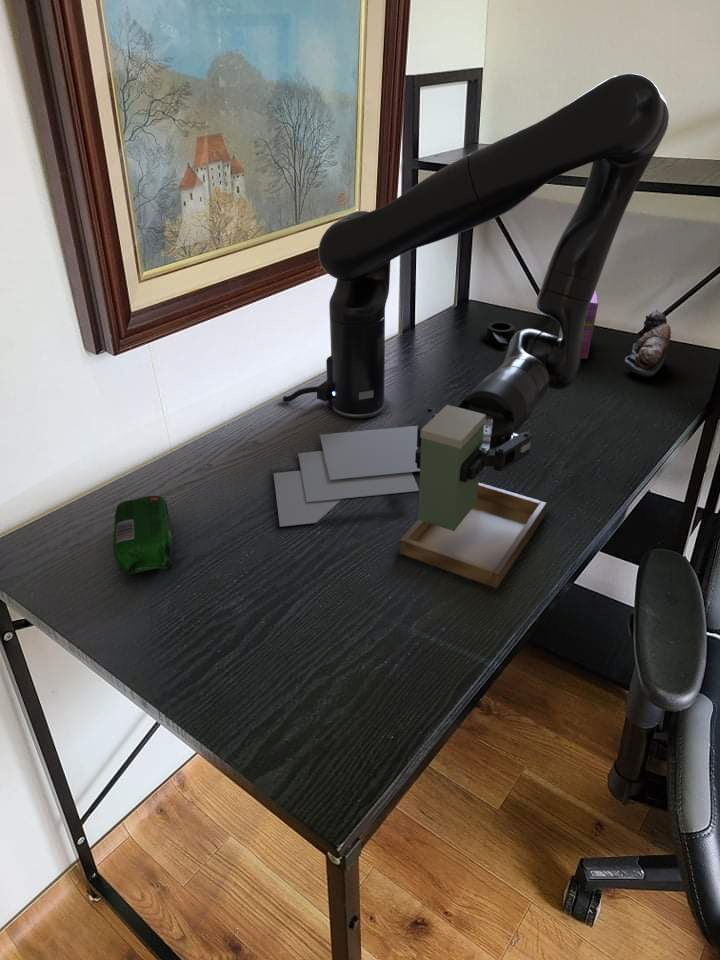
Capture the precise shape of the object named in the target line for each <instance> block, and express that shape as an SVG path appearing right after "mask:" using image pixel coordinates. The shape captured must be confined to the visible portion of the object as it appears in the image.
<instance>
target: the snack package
mask: <svg viewBox="0 0 720 960" xmlns="http://www.w3.org/2000/svg"><path fill="white" fill-rule="evenodd" d="M172 539H173V538H172V532H171V525H170V513H169V508H168V503H167V501H166V499H165V498H164V497H162V496H160V495H147V496H143V497H138V498H135V499H129V500H125V501H122V502H120V503H119V504H118V505H117V506H116V508H115V512H114V525H113V546H112V547H113V553H114V558H115V561H116V565H117V567H118V569H119V571H120V572H121V573H122V574H124V575H127V576H130V575H134V574H138V573H142V572H147V571H153V570H157V569H158V570H159V569H163V570H164V572H165V571H170V570H171V569H172V567H173V563H174V562H173V558H172V557H173V540H172Z"/></svg>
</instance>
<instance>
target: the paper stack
mask: <svg viewBox="0 0 720 960" xmlns="http://www.w3.org/2000/svg"><path fill="white" fill-rule="evenodd" d="M418 426H419V425H411V426H399V427H390V428H389V427H388V428H378V429H367V430H356V431H355V430H354V431H346V432H345V431H344V432H334V433H321V434H319V438H320V443H321V447H322V450H317V451H306V452H298V454H297V455H298V460H299V466H300V467H299V468H300V470H291V471H281V472H273V480H274V489H275V497H276V506H277V512H278V513H277V515H278V522H279V523H278V524H279V527H281V528H282V527H290V526H291V527H292V526H300V525H309V524H317V523H319V521H320V520H321V519H322V518H323V517H324V516H325V515H327V514H328V513H329V512H330V511H331V510H332V509H333V508H334V507H335V506H336V505H337V504H339V502H340V501H342V500H343V499H354V498H361V497H362V498H364V497H372V496H373V497H374V496H381V495H382V496H383V495H393V494H401V493H411V492H412V493H413V492H419V486H418V483H417V481H416V479H415V476H414V474H413V473H414V472H415V473H416V472H420V469H419V468H417V463H415V455H416V450H417V449H418V447H417V428H418Z"/></svg>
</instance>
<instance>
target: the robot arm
mask: <svg viewBox="0 0 720 960" xmlns="http://www.w3.org/2000/svg"><path fill="white" fill-rule="evenodd" d="M669 119H670V114H669V108H668V104H667V101H666V99H665V97H664V96H663V94H662V93H661V91H660V89H659V88H658V87H657V85H656V84H655V83H654V82H653V81H652V80H651V79H650V78H648V77H646V76H645V75H642V74H637V73H623V74H618V75H614V76H612V77H610V78H608V79H606V80H604V81H602V82H601V83H599V84H597V85H596V86H594V87H592V88H591V89H589V90H588V91H587V92H585V93H583V94H581V95H580V96H579V97H577V98H576V99H574V100H573V101H571V102H569V103H568V104H566V105H565V106H563V107H561V108H559V109H558V110H557V111H555V112H553V113H552V114H550V115H549V116H547V117H545V118H543V119H541V120H539V121H538V122H536V123H534V124H532V125H530V126H527V127H525V128H522V129H520V130H518V131H516V132H513V133H512V134H509V135H507V136H505V137H503V138H500V139H499V140H497V141H495V142H493V143H491V144H488V145H487V146H484V147H482V148H479V149H478V150H475V151H473V152H471V153H469V154H467V155H465V156H463V157H461V158H459V159H457V160H455V161H453V162H451V163H449V164H447V165H446V166H444V167H442V168H440V169H439V170H438V171H436V172H434V173H432V174H431V175H428V176H427V177H426V178H424V179H423V180H422V181H420V182H418V183H417V184H415V185H414V186H413V187H411V188H409V189H408V190H407V191H405V192H404V193H402V194H401V195H399V196H398V197H396V198H395V199H393V200H392V201H390V202H388V203H387V204H385V205H383V206H380V207H378V208H376V209H373V210H371V211H367V210H357V211H353V212H351V213H349V214H347V215H345V216H343V217H342V218H341V219H338V220H337V221H335V222H334V223H333V224H331V225H330V226H329V227H328V228H327V229H326V230H325V232H324V233H323V234H322V236H321V239H320V241H319V244H318V252H317V253H318V260H319V264H320V266H321V268H322V269H323V270H324V272H326V274H327V275H329V276H331V277H332V278H334V279H336V282H335V287H334V289H333V292H332V294H331V296H330V298H329V304H328V307H329V309H328V310H329V311H328V312H329V314H328V315H329V331H330V332H329V333H330V335H329V336H330V337H329V338H330V355H329V356H328V357H327V358H326V359H325V361H326V380H325V381H324V382H322V383H320V384H319V385H318V386H309V387H304V388H300V389H298V390H296V391H294V392H293V393H292V394H290V395H288V396H287V395H284V396H282V397H283V398H282V401H283V402H285V403H289V402H292V401H294V400H296V399H297V398H298V397H300V396H302V395H303V396H304V395H306V394H311V393H316V399H317V400H320V401H324V402H327V408H328V409H330V410H332V411H333V412H334V413H335V414H336V415H338V416H340V417H343V418H346V419H353V420H363V419H370V418H374V417H376V416H378V415H380V414H382V413H383V411H384V410H385V408H386V402H385V374H386V373H385V371H386V370H385V366H386V365H385V363H386V362H385V361H386V360H385V356H386V355H385V353H386V351H385V350H386V348H385V347H386V305H387V301H388V298H389V294H390V284H391V283H390V281H391V262H392V260H394V259H396V258H398V257H400V256H402V255H404V254H405V253H407V252H410V251H412V250H415V249H418V248H421V247H424V246H427V245H431V244H433V243H436V242H439V241H442V240H445V239H447V238H450V237H452V236H455V235H458V234H461V233H463V232H466V231H468V230H471V229H474V228H476V227H478V226H480V225H483V224H485V223H487V222H489V221H491V220H494V219H496V218H498V217H501V216H502V215H504V214H506V213H508V212H510V211H512V210H513V209H514V208H516V207H517V206H519V205H520V204H521V203H523V202H524V201H526V200H527V199H528V198H529V197H531V196H532V195H533V194H535V192H537V191H538V190H540V189H541V188H542V187H543V186H545V185H546V184H547V183H549V182H551V181H552V180H553V179H556V178H557V177H559V176H561V175H563V174H565V173H569V172H570V171H573V170H575V169H578V168H581V167H583V166H585V165H589V164H591V167H590V172H589V176H588V179H587V182H586V185H585V187H584V190H583V192H582V195H581V198H580V200H579V203H578V205H577V206H576V208H575V211H574V212H573V214H572V216H571V218H570V220H569V221H568V223H567V225H566V227H565V228H564V230H563V232H562V233H561V236H560V238H559V239H558V242H557V244H556V246H555V248H554V250H553V253H552V255H551V258H550V261H549V263H548V266H547V268H546V271H545V274H544V277H543V280H542V283H541V287H540V288H539V292H538V296H537V299H536V308H537V310H538V311H540V312H541V313H542V314H544V315H545V316H547V317H548V318H550V319H552V320H554V321H555V322H556V323H557V324H558V325H559V328H560V327H561V330H562V338H560V337H559V336H556V335H553V334H551V333H547V332H545V331H542V330H539V329H536V328H523V329H520V330H518V331H517V332H514V336H513V337H512V339H511V340H510V343H509V344H507V348H506V352H505V358H504V360H503V362H502V364H501V365H499V366H498V367H497V369H495V370H494V371H493V372H492V373H490V374H488V375H487V376H486V377H484V378H483V379H482V381H480V383H478V384H477V385H476V386H475V387H474V388H473V389H472V390H471V391H470V392H469V393H468V394H467V395H466V396H465V397H464V398H463V399H462V401H461V402H460V404H459V405H458V406H457V407H458V408H462V409H466V410H470V411H474V412H478V413H482V414H486V420H485V423H484V430H483V440H482V442H481V443H480V444H479V447H478V451H476V450H474V451H473V452H472V454H471V455H470V456H469V457H468V458H467V459H466V460H465V461H464V463H463V464H462V465H461V469H460V481H462V482H465V483H466V482H467V481H468V480H469V479H471V480H472V479H474V478H476V476H477V475H478V474H479V475H480V474H481V472H482V471H483V470H486V469H488V467H493V470H494V471H497V472H502V471H505V470H506V469H508V468H509V467H511V466H512V465H514V464H515V463H518V462H519V461H521V460H522V459H524V458H525V457H526V456H528V455H530V450H531V444H532V437H533V436H532V435H533V434H532V433H530V432H527V431H523V432H521V433H517V432H518V431H519V430H520V429H521V427H522V426H523V424H524V423H525V422H526V421H528V419H529V418H530V416H531V414H533V411H534V409H535V407H536V406H537V405H538V403H539V402H540V401H541V400H542V399H543V397H545V395H546V394H547V392H548V390H549V389H552V390H556V391H557V390H558V391H559V390H560V391H561V390H564V389H566V388H568V387H569V386H571V385H572V384H573V383H574V382H575V381H576V379H577V377H578V374H579V373H580V369H581V364H582V358H581V355H582V340H583V331H584V324H585V319H586V315H587V311H588V308H589V305H590V301H591V300H592V297H593V294H594V292H595V290H596V289H597V286H598V283H599V280H600V278H601V275H602V271H603V269H604V267H605V265H606V262H607V258H608V255H609V253H610V250H611V248H612V244H613V242H614V239H615V236H616V234H617V231H618V229H619V227H620V225H621V221H622V219H623V216H624V214H625V212H626V210H627V207H628V205H629V203H630V201H631V199H632V196H633V195H634V193H635V191H636V188H637V187H638V184H639V182H640V181H641V179H642V177H643V176H644V173H645V172H646V169H647V167H648V166H649V164H650V162H651V160H653V159H652V158H653V157H654V155H655V154H656V151H657V150H658V148H659V147H660V145H661V142H662V140H663V138H664V137H665V135H666V132H667V130H668V127H669V121H670V120H669ZM437 414H438V413H436V409H435V408H434V407H426V408H425V409H424V412H423V414H422V416H421V419H420V421H419V423H418V425H417V426H418V428H417V447H418V449H417V450H416V455H415V463H417V468H419V469H420V461H421V437H420V432H421V429H422V428H423V427H424V426H425V425H426V424H427V423H428V422H429V421H430V420H432V419H433V418H434V417H435V416H436V415H437ZM494 449H495V450H494Z"/></svg>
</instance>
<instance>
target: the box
mask: <svg viewBox="0 0 720 960" xmlns="http://www.w3.org/2000/svg"><path fill="white" fill-rule="evenodd" d="M598 306H599V301H598V296H597V291H596V289H595V292H594V294H593V297H592V300H591V301H590V305H589V308H588V311H587V315H586V319H585V324H584V331H583V340H582V355H581V360H582V359H583V360H584V359H585V360H587V359H588V358H589V353H590V349H591V348H590V347H591V343H592V338H593V332H594V326H595V323H596V317H597V312H598ZM558 337H560V338H562V330H561V327H560V326H559V332H558Z"/></svg>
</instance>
